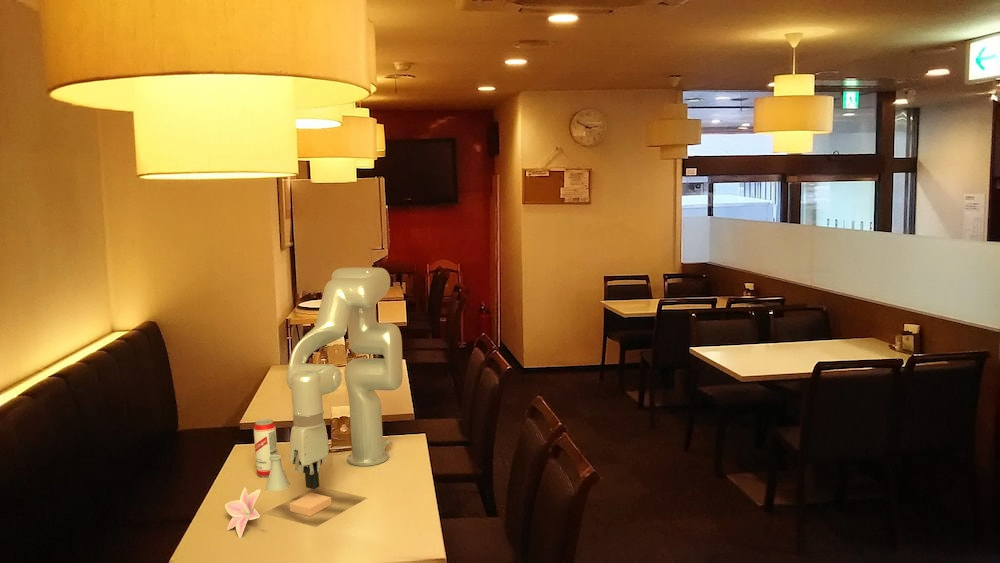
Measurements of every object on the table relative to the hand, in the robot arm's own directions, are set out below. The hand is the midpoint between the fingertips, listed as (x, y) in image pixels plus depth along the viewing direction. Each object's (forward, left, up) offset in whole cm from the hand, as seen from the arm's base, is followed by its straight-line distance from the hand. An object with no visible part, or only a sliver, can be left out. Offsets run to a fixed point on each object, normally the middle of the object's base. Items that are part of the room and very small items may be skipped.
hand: (312, 487), depth 213 cm
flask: (-6, -19, -7) cm, 21 cm away
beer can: (-14, -31, -7) cm, 35 cm away
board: (-1, 0, -7) cm, 7 cm away
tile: (-3, 0, -4) cm, 5 cm away
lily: (+16, -9, -7) cm, 19 cm away
